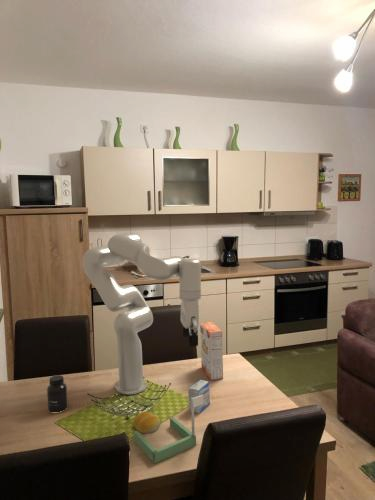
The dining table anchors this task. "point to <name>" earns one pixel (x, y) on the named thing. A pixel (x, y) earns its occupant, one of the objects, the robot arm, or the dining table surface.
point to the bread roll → (146, 422)
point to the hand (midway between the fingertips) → (190, 340)
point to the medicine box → (200, 389)
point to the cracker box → (211, 350)
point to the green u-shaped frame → (177, 446)
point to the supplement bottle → (57, 394)
